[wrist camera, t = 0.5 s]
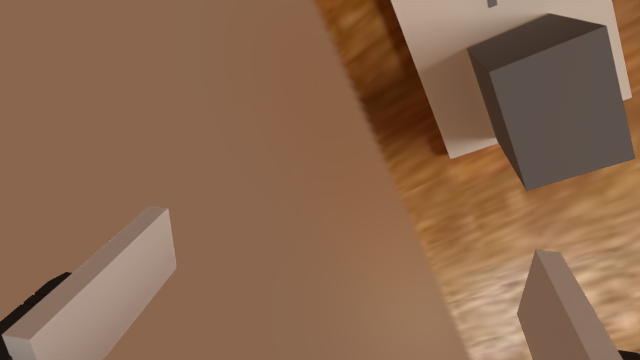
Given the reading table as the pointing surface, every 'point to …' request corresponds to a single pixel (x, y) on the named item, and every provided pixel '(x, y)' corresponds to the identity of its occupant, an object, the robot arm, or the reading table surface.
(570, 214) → the reading table surface
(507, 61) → the block
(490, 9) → the board
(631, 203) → the reading table surface
